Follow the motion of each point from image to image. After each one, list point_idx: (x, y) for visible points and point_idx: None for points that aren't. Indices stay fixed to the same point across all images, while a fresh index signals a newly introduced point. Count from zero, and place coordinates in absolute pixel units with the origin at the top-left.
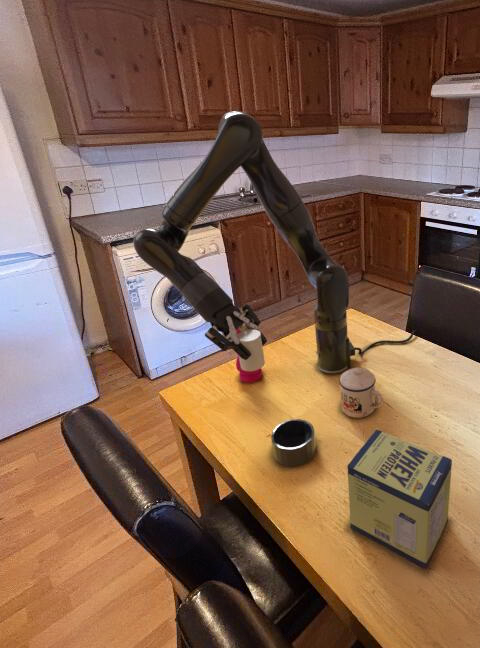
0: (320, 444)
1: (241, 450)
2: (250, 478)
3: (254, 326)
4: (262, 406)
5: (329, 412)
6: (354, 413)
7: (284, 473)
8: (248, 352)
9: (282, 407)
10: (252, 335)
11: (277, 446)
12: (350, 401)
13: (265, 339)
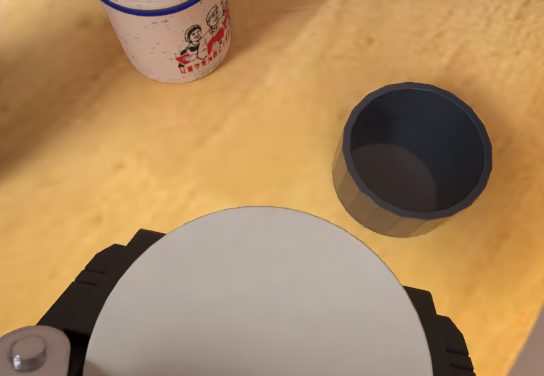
0: None
1: None
2: (532, 269)
3: (26, 369)
4: None
5: (211, 117)
6: (229, 29)
7: None
8: (420, 303)
9: None
10: (260, 305)
11: (488, 178)
12: (224, 7)
13: (140, 237)
